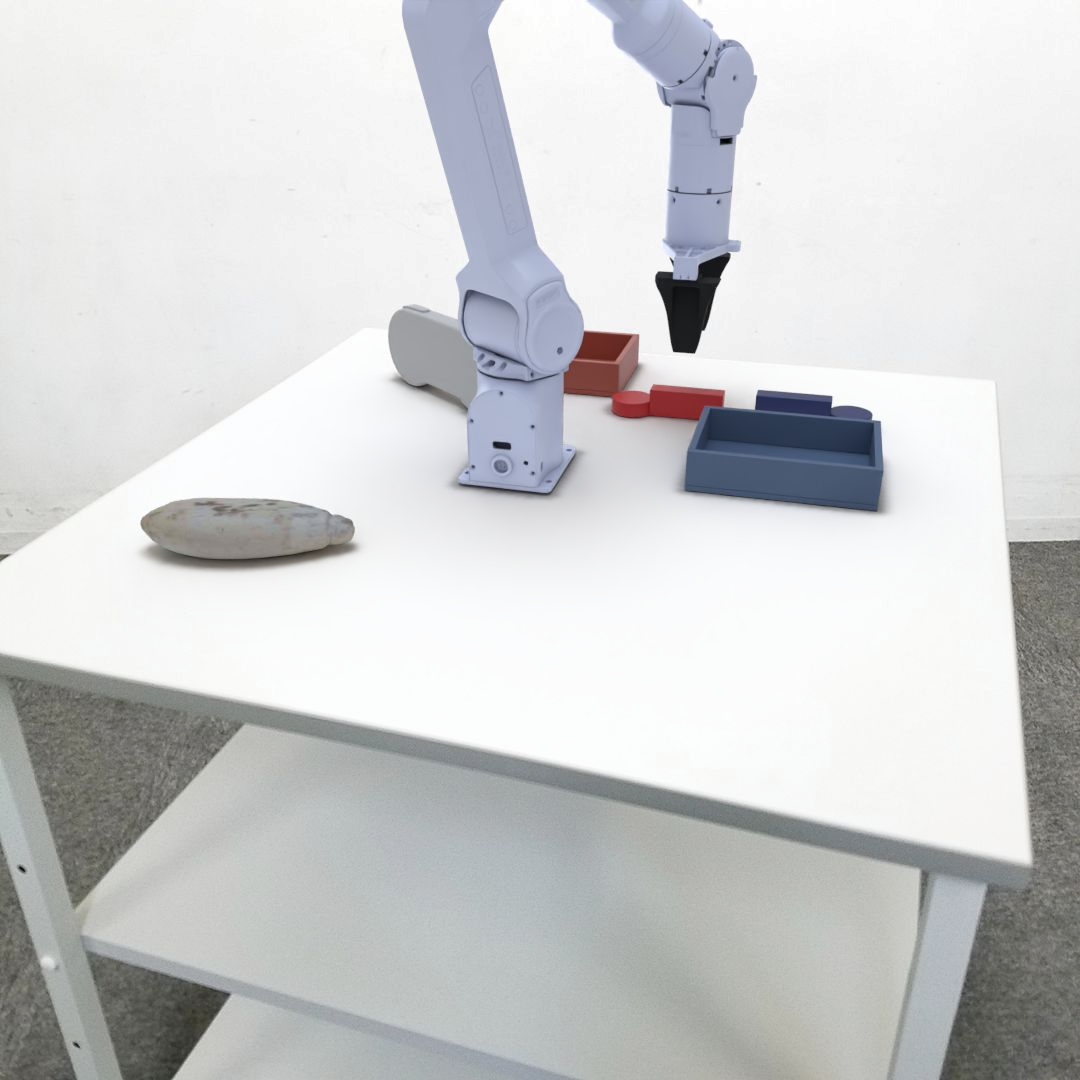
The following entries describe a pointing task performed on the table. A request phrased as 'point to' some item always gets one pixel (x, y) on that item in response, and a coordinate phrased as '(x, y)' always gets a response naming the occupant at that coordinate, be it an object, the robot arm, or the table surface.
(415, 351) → the game controller
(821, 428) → the blue bin
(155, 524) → the decorative stone
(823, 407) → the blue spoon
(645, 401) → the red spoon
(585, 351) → the red bin
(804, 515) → the table surface
